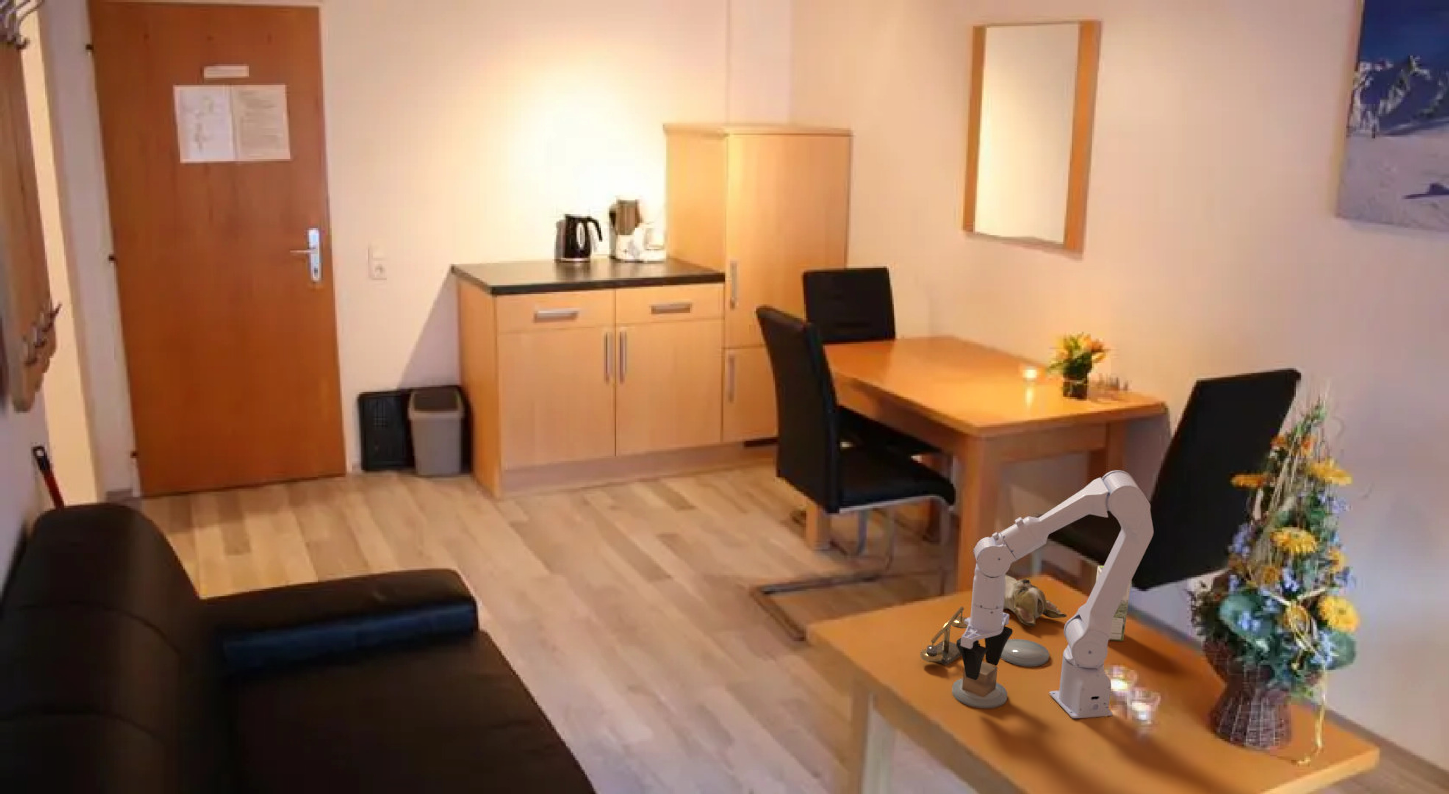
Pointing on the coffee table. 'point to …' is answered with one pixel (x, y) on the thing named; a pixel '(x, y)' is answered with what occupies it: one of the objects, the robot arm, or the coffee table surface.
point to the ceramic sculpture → (1028, 601)
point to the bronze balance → (945, 642)
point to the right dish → (1024, 653)
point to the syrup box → (1118, 614)
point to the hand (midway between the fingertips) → (982, 670)
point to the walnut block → (981, 681)
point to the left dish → (988, 701)
